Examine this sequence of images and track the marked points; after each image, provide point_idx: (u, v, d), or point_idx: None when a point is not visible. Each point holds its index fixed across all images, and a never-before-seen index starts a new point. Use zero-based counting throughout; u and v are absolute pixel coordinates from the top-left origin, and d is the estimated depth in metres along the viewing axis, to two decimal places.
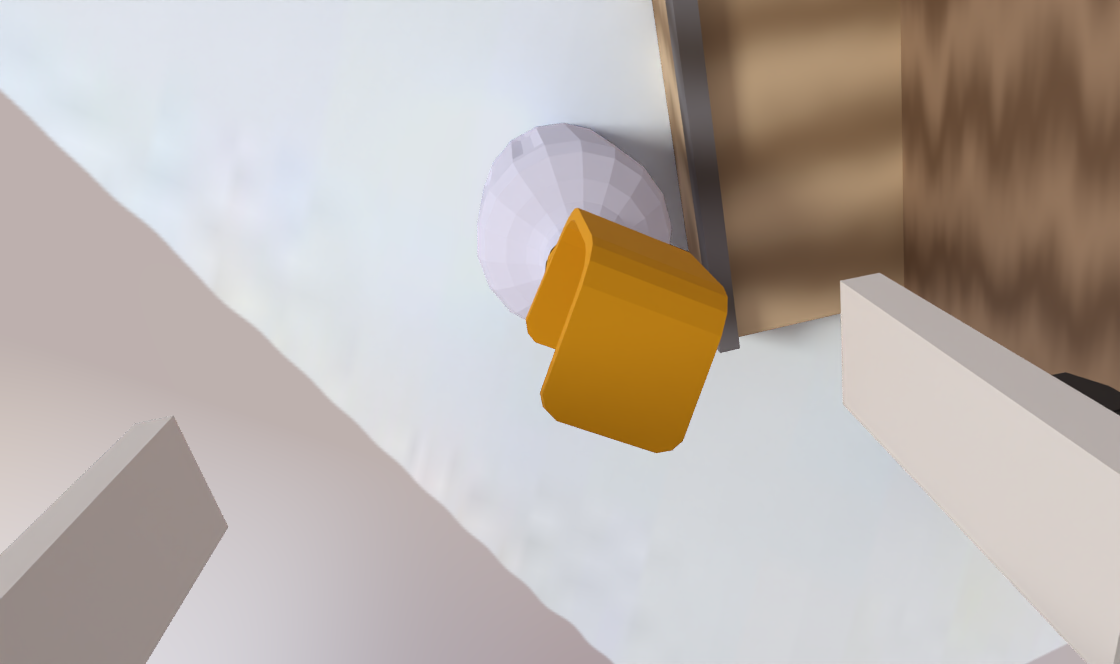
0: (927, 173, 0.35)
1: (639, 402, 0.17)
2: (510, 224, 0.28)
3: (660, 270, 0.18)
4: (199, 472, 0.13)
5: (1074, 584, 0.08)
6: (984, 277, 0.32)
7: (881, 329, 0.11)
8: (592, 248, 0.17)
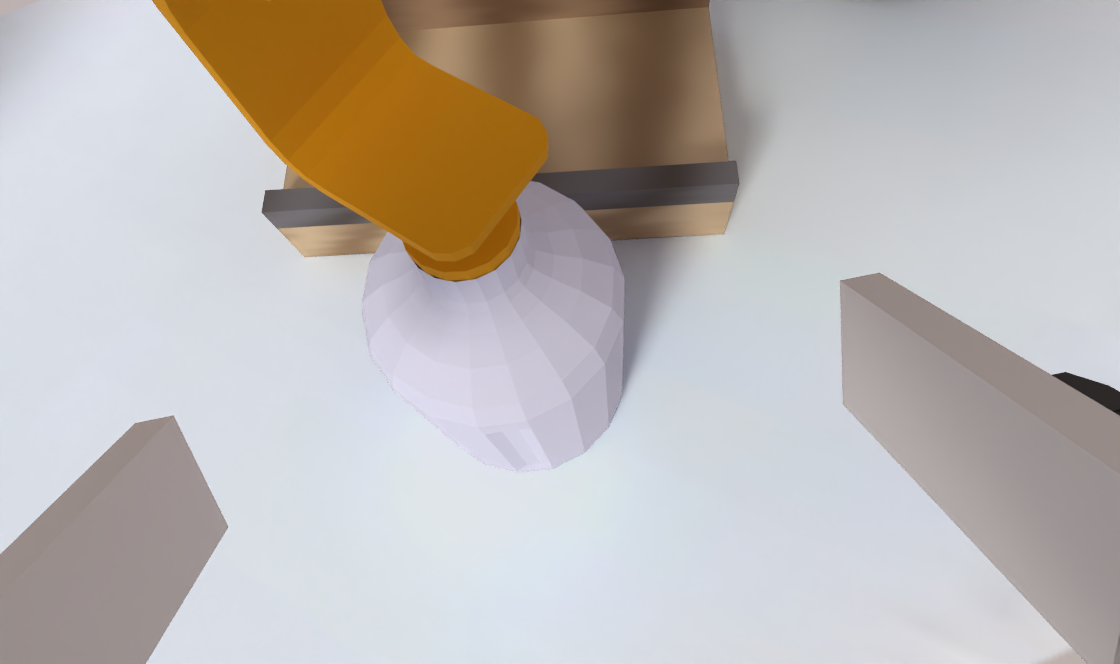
0: None
1: None
2: (419, 353, 0.20)
3: None
4: (199, 472, 0.13)
5: (1074, 584, 0.08)
6: None
7: (881, 329, 0.11)
8: None
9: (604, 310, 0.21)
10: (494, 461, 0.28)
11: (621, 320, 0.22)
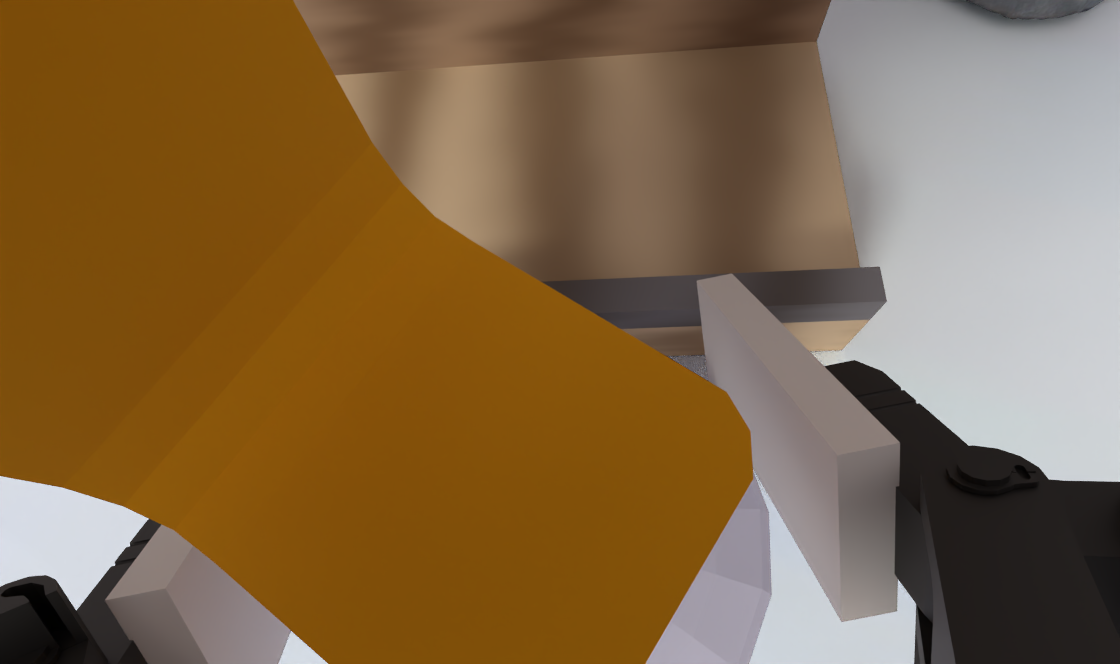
0: (612, 7, 0.25)
1: None
2: None
3: None
4: None
5: (819, 537, 0.09)
6: None
7: (718, 324, 0.12)
8: None
9: (751, 597, 0.12)
10: None
11: (769, 594, 0.13)
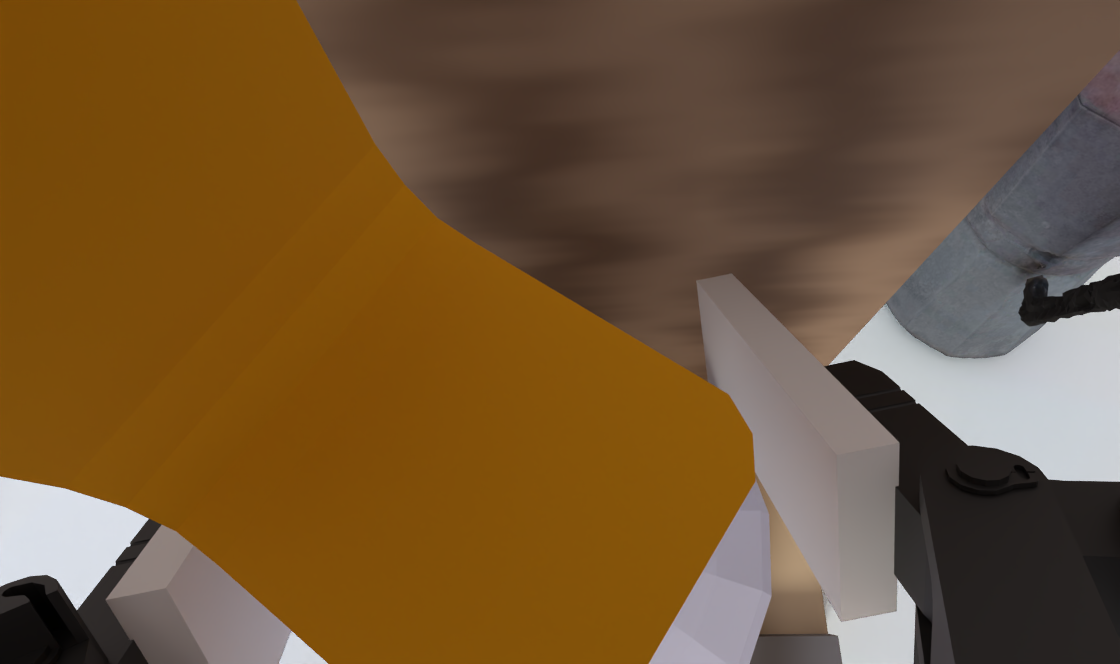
0: None
1: None
2: None
3: None
4: None
5: (818, 537, 0.09)
6: None
7: (717, 324, 0.12)
8: None
9: (752, 599, 0.12)
10: None
11: (770, 596, 0.13)
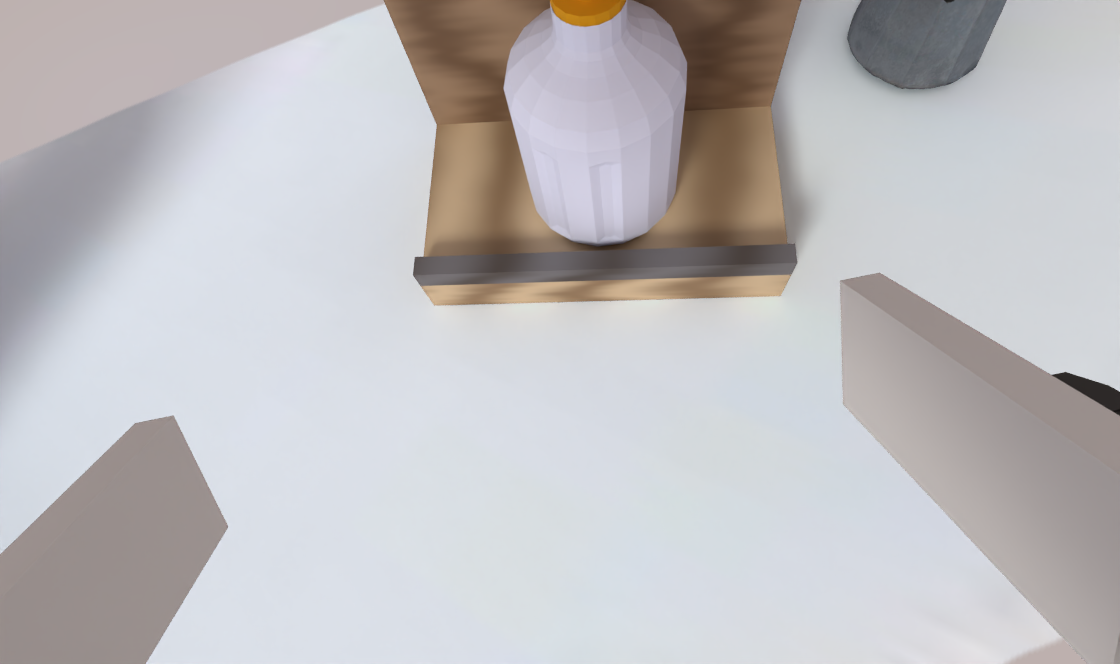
0: None
1: None
2: (551, 95, 0.30)
3: None
4: (198, 472, 0.13)
5: (1074, 584, 0.08)
6: (726, 22, 0.36)
7: (881, 329, 0.11)
8: None
9: (675, 72, 0.31)
10: (582, 227, 0.38)
11: (685, 86, 0.31)
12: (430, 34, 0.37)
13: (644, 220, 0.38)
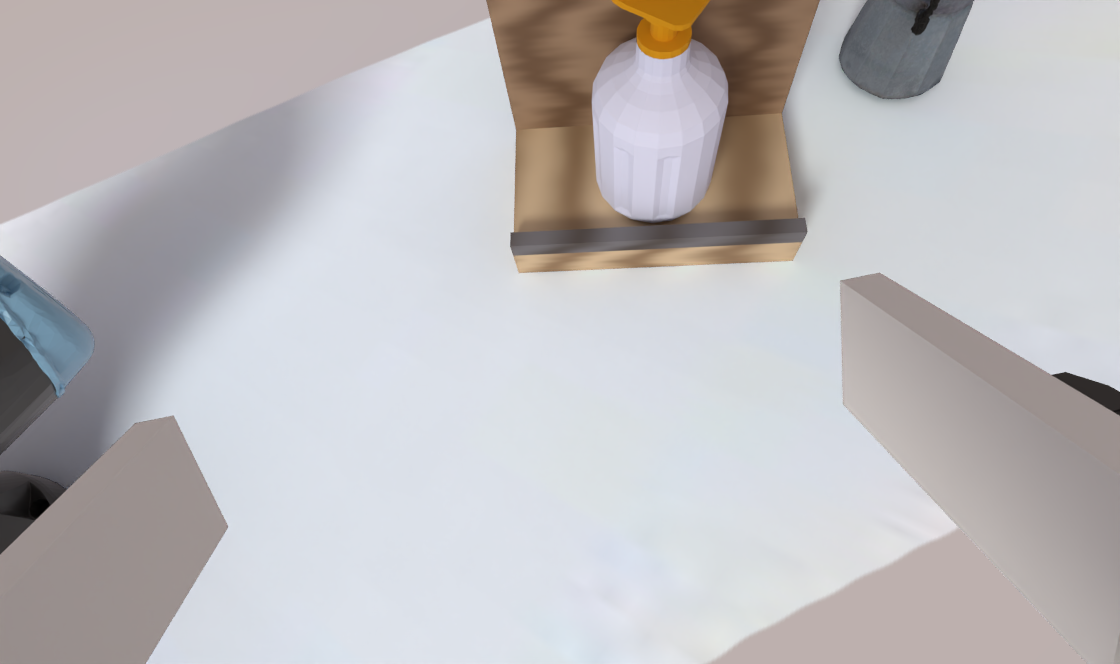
0: None
1: None
2: (633, 107, 0.41)
3: None
4: (198, 472, 0.13)
5: (1074, 584, 0.08)
6: (751, 50, 0.48)
7: (880, 329, 0.11)
8: None
9: (721, 90, 0.42)
10: (642, 207, 0.49)
11: (727, 100, 0.43)
12: (525, 60, 0.48)
13: (689, 201, 0.49)
